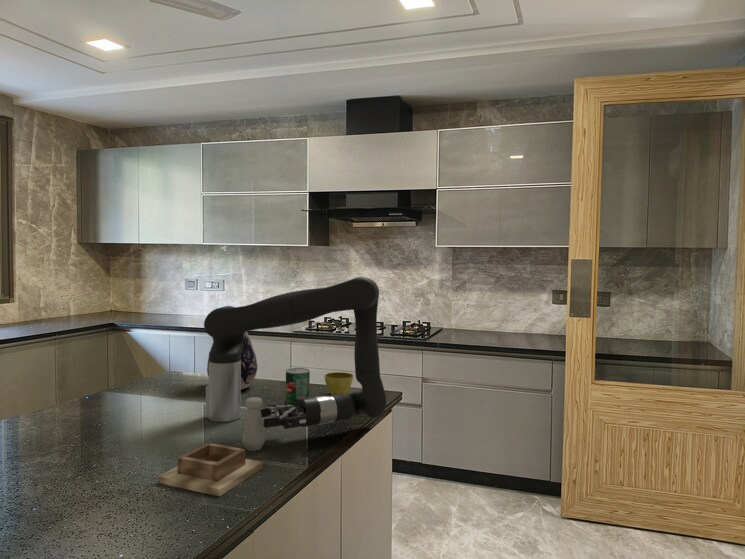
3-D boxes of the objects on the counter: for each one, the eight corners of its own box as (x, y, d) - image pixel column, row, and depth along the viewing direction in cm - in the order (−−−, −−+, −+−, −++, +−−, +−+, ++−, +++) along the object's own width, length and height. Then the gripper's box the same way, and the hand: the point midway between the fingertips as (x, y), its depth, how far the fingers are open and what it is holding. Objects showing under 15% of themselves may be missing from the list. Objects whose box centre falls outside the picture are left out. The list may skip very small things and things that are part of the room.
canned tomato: (314, 402, 184) (314, 369, 184) (298, 408, 178) (299, 374, 177) (295, 398, 188) (296, 366, 188) (280, 404, 182) (280, 370, 181)
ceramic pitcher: (231, 397, 188) (232, 324, 187) (189, 388, 199) (189, 319, 198) (267, 387, 203) (268, 319, 202) (226, 379, 214) (226, 314, 213)
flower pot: (320, 393, 197) (320, 373, 196) (346, 390, 201) (347, 371, 200) (329, 400, 187) (329, 379, 187) (357, 397, 191) (357, 377, 191)
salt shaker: (259, 453, 138) (260, 402, 137) (238, 451, 139) (238, 400, 138) (268, 445, 144) (269, 396, 143) (247, 443, 145) (248, 394, 144)
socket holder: (158, 483, 120) (158, 460, 119) (205, 457, 134) (205, 437, 134) (220, 496, 114) (220, 472, 113) (262, 468, 129) (262, 447, 128)
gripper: (306, 390, 155) (249, 397, 147) (328, 403, 143) (267, 411, 135) (305, 417, 156) (249, 425, 148) (327, 432, 144) (267, 441, 135)
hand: (258, 418), depth 141 cm, fingers open, 8 cm apart
